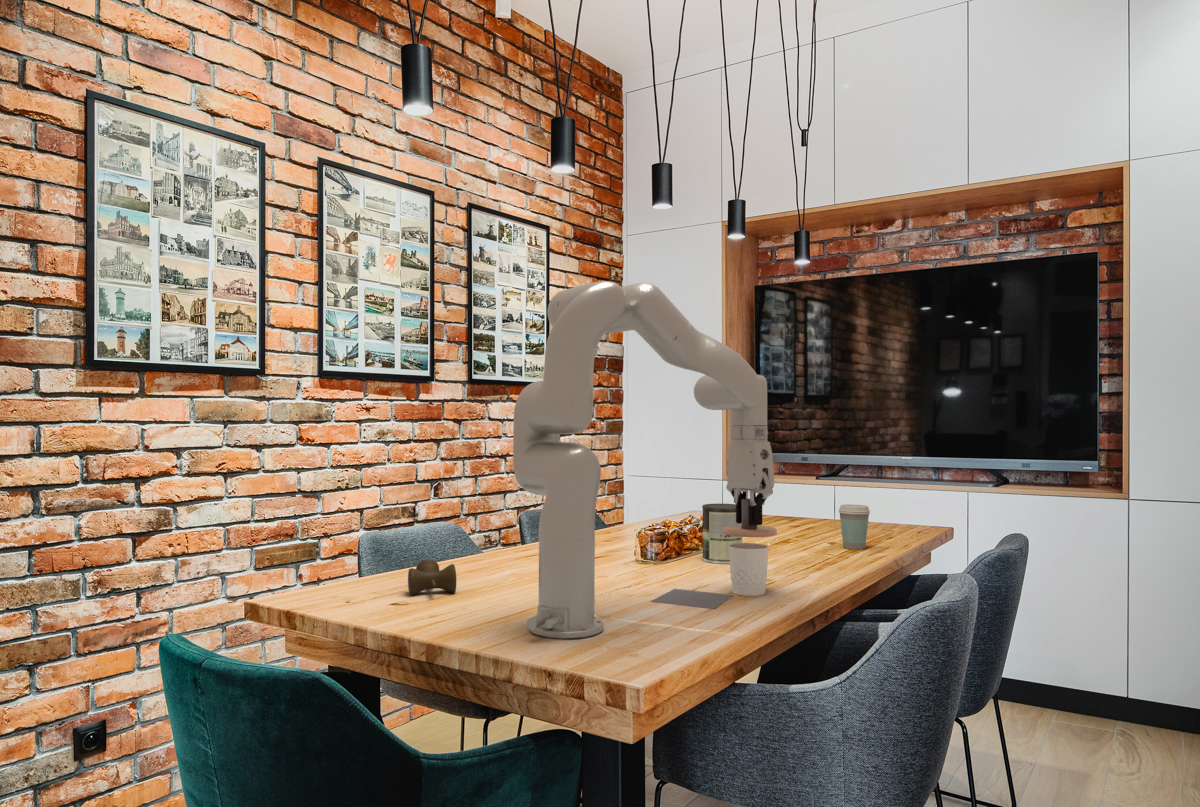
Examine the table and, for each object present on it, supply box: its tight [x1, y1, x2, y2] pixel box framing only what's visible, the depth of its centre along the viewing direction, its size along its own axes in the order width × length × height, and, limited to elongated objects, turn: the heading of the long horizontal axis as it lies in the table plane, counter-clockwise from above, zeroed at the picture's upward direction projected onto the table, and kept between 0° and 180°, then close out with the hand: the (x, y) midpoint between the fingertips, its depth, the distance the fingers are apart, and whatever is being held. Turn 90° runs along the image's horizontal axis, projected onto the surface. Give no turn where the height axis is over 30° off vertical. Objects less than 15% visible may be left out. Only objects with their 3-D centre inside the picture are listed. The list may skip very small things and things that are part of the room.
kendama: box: [407, 558, 457, 597], centre depth 163 cm, size 6×10×20 cm
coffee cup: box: [838, 504, 871, 551], centre depth 221 cm, size 8×8×12 cm
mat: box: [649, 588, 736, 610], centre depth 153 cm, size 13×13×1 cm
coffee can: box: [701, 503, 743, 565], centre depth 200 cm, size 10×10×14 cm
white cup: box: [729, 542, 769, 597], centre depth 160 cm, size 8×8×10 cm
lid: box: [722, 497, 778, 538], centre depth 160 cm, size 11×11×7 cm
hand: (749, 523), depth 160 cm, fingers closed on lid, 3 cm apart
